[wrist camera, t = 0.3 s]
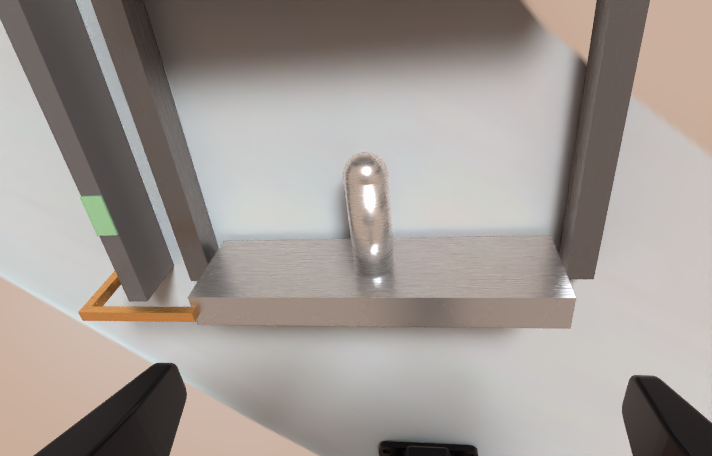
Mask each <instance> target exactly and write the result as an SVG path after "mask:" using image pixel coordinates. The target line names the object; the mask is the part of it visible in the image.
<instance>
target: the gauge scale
mask: <svg viewBox="0 0 712 456" xmlns="http://www.w3.org/2000/svg"><path fill="white" fill-rule="evenodd" d="M0 19H1V21H2V24H3V26H4V28H5V30H6V32H7V34H8V37H9V39H10V41H11V43H12V45H13V48H14V50H15V52H16V54H17V56H18V59H19V61H20V63H21V65H22V67H23V70H24V72H25V74H26V76H27V78H28V81H29V83H30V85H31V87H32V89H33V92H34V94H35V96H36V98H37V100H38V102H39V105H40V107H41V109H42V111H43V113H44V116H45V118H46V120H47V122H48V124H49V127H50V129H51V131H52V133H53V135H54V138H55V140H56V142H57V144H58V146H59V149H60V151H61V153H62V155H63V157H64V160H65V162H66V164H67V166H68V168H69V170H70V173H71V175H72V177H73V179H74V181H75V184H76V186H77V188H78V190H79V192H80V195H81V197H80V199H81V201H82V203H83V205H84V207H85V210H86V212H87V214H88V216H89V218H90V221H91V223H92V225H93V227H94V229H95V231H96V234H97V236H100V238H101V241H102V243H103V245H104V247H105V249H106V252H107V254H108V256H109V258H110V260H111V263H112V265H113V267H114V269H115V271H116V274H117V276H118V278H119V280H120V282H121V285H122V287H123V289H124V291H125V293H126V296H127V298H128V300H129V301H148V300H149V299H150V297H151V296H152V294H153V293H154V292H155V290H156V289H157V288H158V286H159V285H160V283H161V282H162V281H163V279H164V278H165V277H166V275H167V274H168V272H169V271H170V270H171V268H172V267H173V266H174V265H173V262H172V259H171V257H170V254H169V251H168V249H167V246H166V243H165V240H164V238H163V235H162V232H161V230H160V227H159V224H158V222H157V219H156V216H155V214H154V211H153V208H152V206H151V203H150V200H149V198H148V195H147V192H146V190H145V187H144V184H143V182H142V179H141V176H140V173H139V171H138V168H137V165H136V163H135V160H134V157H133V155H132V152H131V149H130V147H129V144H128V141H127V139H126V136H125V133H124V131H123V128H122V125H121V123H120V120H119V117H118V114H117V112H116V109H115V106H114V104H113V101H112V98H111V96H110V93H109V90H108V88H107V85H106V82H105V80H104V77H103V74H102V72H101V69H100V66H99V64H98V61H97V58H96V55H95V53H94V50H93V47H92V45H91V42H90V39H89V37H88V34H87V31H86V29H85V26H84V23H83V21H82V18H81V15H80V13H79V10H78V7H77V5H76V2H75V0H0Z"/></svg>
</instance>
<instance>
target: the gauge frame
mask: <svg viewBox="0 0 712 456" xmlns="http://www.w3.org/2000/svg"><path fill="white" fill-rule="evenodd" d="M91 2H92V5H93V8H94V10H95V13H96V16H97V19H98V22H99V24H100V27H101V30H102V33H103V36H104V38H105V41H106V44H107V47H108V50H109V52H110V55H111V58H112V61H113V64H114V66H115V69H116V72H117V75H118V78H119V80H120V83H121V86H122V89H123V92H124V94H125V97H126V100H127V103H128V106H129V108H130V111H131V114H132V117H133V120H134V122H135V125H136V128H137V131H138V134H139V136H140V139H141V142H142V145H143V148H144V151H145V153H146V156H147V159H148V162H149V165H150V167H151V170H152V173H153V176H154V179H155V181H156V184H157V187H158V190H159V193H160V195H161V198H162V201H163V204H164V207H165V209H166V212H167V215H168V218H169V221H170V223H171V226H172V229H173V232H174V235H175V237H176V240H177V243H178V246H179V249H180V251H181V254H182V257H183V260H184V263H185V265H186V268H187V271H188V274H189V277H190V279H191V281H198V280H199V279H200V277H201V276H202V274H203V273H204V271H205V269H206V268H207V266H208V265H209V263H210V261H211V260H212V258H213V257H214V255H215V253H216V252H217V250H218V249H219V248H218V245H217V242H216V239H215V235H214V232H213V229H212V225H211V222H210V219H209V216H208V212H207V209H206V206H205V202H204V199H203V196H202V193H201V189H200V186H199V183H198V180H197V176H196V173H195V170H194V166H193V163H192V160H191V157H190V153H189V150H188V147H187V143H186V140H185V137H184V134H183V130H182V127H181V124H180V121H179V117H178V114H177V111H176V107H175V104H174V101H173V98H172V94H171V91H170V88H169V84H168V81H167V78H166V75H165V71H164V68H163V65H162V62H161V58H160V55H159V52H158V48H157V45H156V42H155V39H154V35H153V32H152V29H151V25H150V22H149V19H148V16H147V12H146V9H145V6H144V3H143V0H91ZM649 2H650V0H597V3H596V9H595V17H594V23H593V30H592V36H591V44H590V50H589V56H588V63H587V70H586V77H585V83H584V90H583V97H582V104H581V110H580V117H579V124H578V130H577V137H576V144H575V151H574V157H573V164H572V171H571V177H570V184H569V191H568V198H567V204H566V211H565V218H564V225H563V231H562V238H561V245H560V251H559V257H560V259H561V262H562V264H563V267H564V269H565V272H566V274H567V277H568V279H594V275H595V270H596V265H597V260H598V255H599V250H600V245H601V240H602V235H603V230H604V225H605V220H606V215H607V210H608V205H609V200H610V195H611V191H612V186H613V181H614V176H615V171H616V166H617V161H618V156H619V151H620V146H621V141H622V136H623V131H624V126H625V121H626V116H627V111H628V106H629V101H630V96H631V91H632V86H633V81H634V76H635V72H636V67H637V61H638V57H639V51H640V47H641V42H642V37H643V32H644V27H645V22H646V17H647V12H648V7H649Z"/></svg>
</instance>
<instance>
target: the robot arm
mask: <svg viewBox="0 0 712 456" xmlns="http://www.w3.org/2000/svg"><path fill="white" fill-rule="evenodd" d="M186 396H187V392H186V387H185V385H184V382H183V380H182V377H181V375H180V372H179V370H178V367H177V366H176V365H175V364H173V363H156V364H154V365H152V366H151V367H149V368H148V369H147V370H145V371H144V372H143V373H141V374H140V375H139V376H138V377H136V378H135V379H134V380H132V381H131V382H130V383H128V384H127V385H126V386H125V387H123V388H122V389H120V390H119V391H118V392H116V393H115V394H114V395H113V396H111V397H110V398H109V399H108V400H106V401H105V402H103V403H102V404H101V405H99V406H98V407H97V408H95V409H94V410H93V411H92V412H90V413H89V414H88V415H86V416H85V417H84V418H82V419H81V420H80V421H78V422H77V423H76V424H75V425H73V426H72V427H71V428H69V429H68V430H67V431H65V432H64V433H63V434H61V435H60V436H59V437H57V438H56V439H55V440H54V441H52V442H51V443H50V444H48V445H47V446H46V447H44V448H43V449H42V450H40V451H39V452H38V453H37V454H35V455H34V456H169V455H170V451H171V448H172V445H173V441H174V438H175V435H176V431H177V428H178V425H179V422H180V418H181V415H182V412H183V408H184V405H185V402H186ZM622 414H623V419H624V423H625V427H626V431H627V435H628V439H629V443H630V447H631V450H632V454H633V456H712V423H711V422H710V421H709V420H708V419H707V418H705V417H704V416H703V415H702V414H701V413H699V412H698V411H697V410H696V409H695V408H694V407H692V406H691V405H690V404H689V403H688V402H687V401H685V400H684V399H683V398H682V397H681V396H680V395H678V394H677V393H676V392H675V391H674V390H673V389H671V388H670V387H669V386H668V385H667V384H665V383H664V382H663V381H662V380H661V379H659V378H658V377H656V376H647V375H634V376H632V377H631V378H630V379H629V382H628V386H627V389H626V393H625V397H624V400H623V404H622ZM379 455H380V456H478V451H477V448H476V447H474V446H469V445H448V444H427V443H406V442H382V443H380V445H379Z"/></svg>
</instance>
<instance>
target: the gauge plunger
mask: <svg viewBox="0 0 712 456" xmlns="http://www.w3.org/2000/svg"><path fill="white" fill-rule="evenodd" d="M343 181H344V189H345V197H346V204H347V212H348V220H349V228H350V236H351V239H315V240H258V241H223V242H222V244H221V245H220V247H219V249H218V250H217V252H216V253H215V255H214V257H213V258H212V260H211V261H210V263H209V265H208V266H207V268H206V269H205V271H204V273H203V274H202V276H201V277H200V279H199V280H198V282H197V284H196V285H195V287H194V288H193V290H192V292H191V293H190V295H189V296H188V299H189V302H190V304H191V307H102V306H103V305H104V304H105V303H106V302H107V300H108V299H109V298H110V297H111V296H112V294H113V293H114V292H115V291H116V290H117V288H118V287H119V286H120V285H121V282H120V280H119V278H118V276H117V274H116V271H114V273H113V274H112V275H111V276H110V277H109V278H108V279H107V280H106V282H105V283H104V284H103V285H102V286H101V287H100V288H99V290H98V291H97V292H96V293H95V294H94V295H93V296H92V297H91V299H90V300H89V301H88V302H87V303H86V304H85V305H84V307H83V308H82V309H81V310H80V311H79V312H78V313H79V314H80V316H81V318H82V320H83V321H177V322H195V321H197V323H198V324H200V325H292V326H384V327H476V328H568V329H570V328H571V322H572V317H573V311H574V306H575V300H576V297H575V294H574V292H573V289H572V287H571V284H570V282H569V279H568V277H567V274H566V272H565V269H564V267H563V264H562V262H561V259H560V257H559V254H558V252H557V249H556V247H555V244H554V242H553V239H552V237H551V235H541V236H485V237H428V238H393V236H392V223H391V209H390V195H389V181H388V171H387V167H386V165H385V163H384V162H383V160H382V159H381V158H380V157H379V156H377V155H375V154H373V153H368V152H362V153H358V154H356V155H354V156H352V157H351V158H350V159H349V160H348V161H347V163H346V165H345V167H344V170H343Z"/></svg>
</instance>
